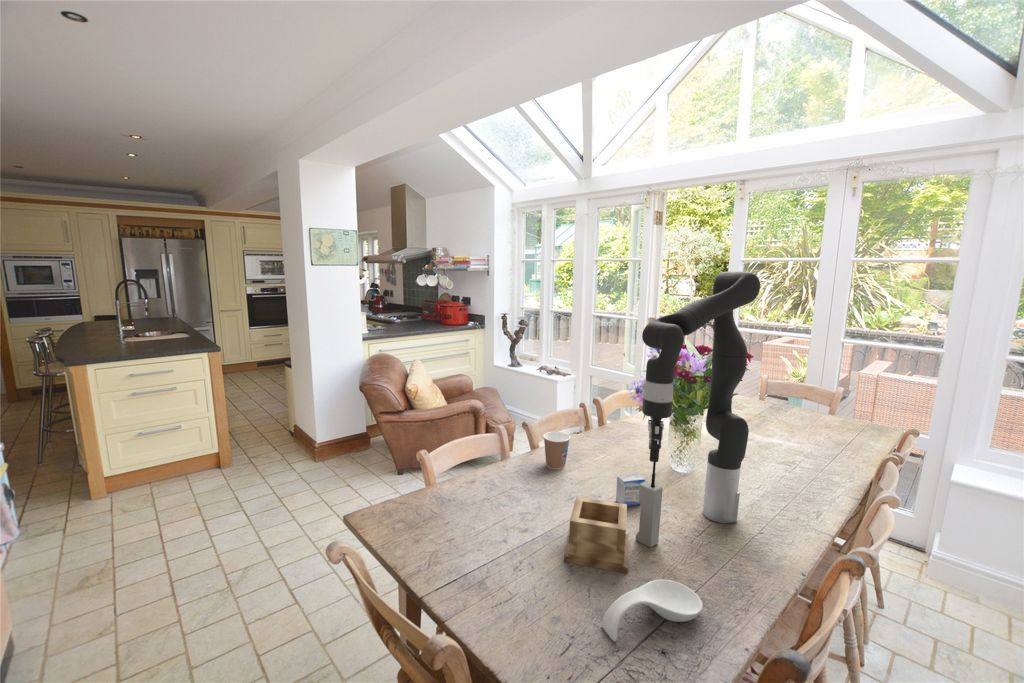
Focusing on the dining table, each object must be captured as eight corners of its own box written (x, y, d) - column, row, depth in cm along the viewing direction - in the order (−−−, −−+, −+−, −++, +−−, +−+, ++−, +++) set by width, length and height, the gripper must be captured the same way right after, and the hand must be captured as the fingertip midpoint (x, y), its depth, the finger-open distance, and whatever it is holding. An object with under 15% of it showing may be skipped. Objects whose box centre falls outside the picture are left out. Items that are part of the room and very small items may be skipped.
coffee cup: (567, 473, 167) (569, 442, 166) (540, 470, 169) (541, 439, 168) (569, 461, 177) (571, 432, 175) (544, 459, 179) (545, 430, 178)
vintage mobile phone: (643, 535, 129) (649, 452, 125) (658, 543, 125) (665, 458, 121) (635, 539, 127) (641, 455, 123) (650, 548, 123) (657, 462, 119)
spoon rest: (673, 587, 108) (675, 560, 107) (713, 621, 98) (716, 592, 96) (591, 617, 98) (593, 587, 97) (626, 659, 88) (628, 627, 87)
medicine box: (622, 507, 144) (623, 482, 143) (615, 500, 148) (616, 475, 147) (643, 504, 146) (645, 479, 145) (636, 497, 150) (638, 473, 149)
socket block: (628, 539, 127) (630, 503, 125) (627, 573, 112) (629, 532, 111) (571, 529, 131) (573, 494, 129) (563, 561, 116) (565, 522, 115)
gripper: (674, 406, 111) (669, 467, 114) (670, 392, 125) (666, 447, 128) (643, 403, 113) (639, 463, 116) (642, 389, 127) (638, 443, 130)
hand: (653, 455), depth 122 cm, fingers open, 8 cm apart
